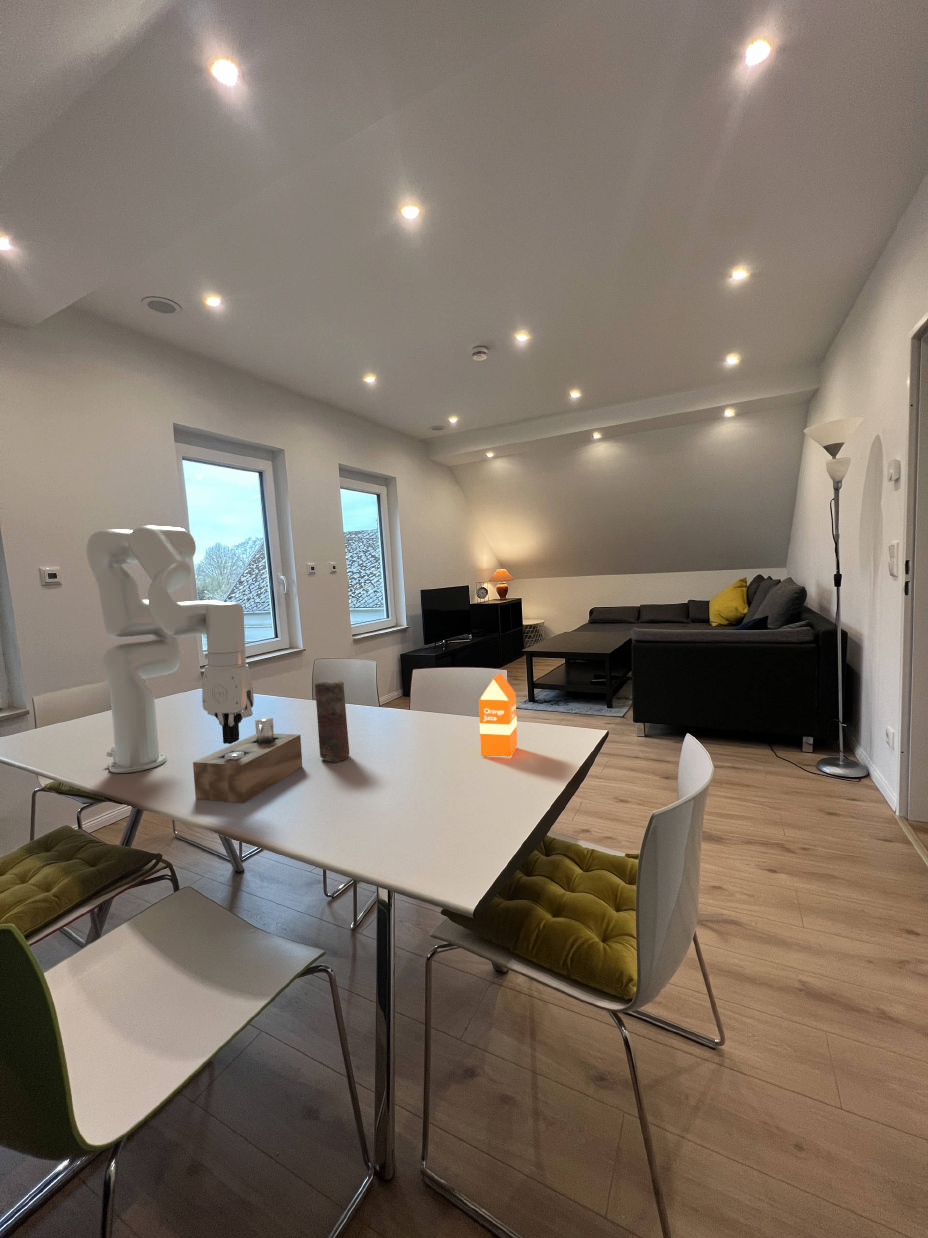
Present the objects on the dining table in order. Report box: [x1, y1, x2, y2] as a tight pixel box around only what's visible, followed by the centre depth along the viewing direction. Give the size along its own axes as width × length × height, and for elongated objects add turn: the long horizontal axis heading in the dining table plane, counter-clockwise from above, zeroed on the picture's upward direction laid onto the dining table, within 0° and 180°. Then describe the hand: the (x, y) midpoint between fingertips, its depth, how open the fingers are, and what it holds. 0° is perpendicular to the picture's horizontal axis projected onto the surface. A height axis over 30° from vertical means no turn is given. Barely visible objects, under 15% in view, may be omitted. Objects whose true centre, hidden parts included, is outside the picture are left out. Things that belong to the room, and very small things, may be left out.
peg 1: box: [224, 752, 244, 759], centre depth 118 cm, size 4×4×7 cm
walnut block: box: [192, 733, 303, 804], centre depth 123 cm, size 12×22×8 cm, turn 165°
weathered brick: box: [314, 680, 350, 763], centre depth 137 cm, size 8×7×20 cm
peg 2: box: [254, 717, 275, 744], centre depth 128 cm, size 4×4×7 cm
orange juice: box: [478, 672, 518, 757], centre depth 137 cm, size 8×9×20 cm
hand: (231, 741), depth 118 cm, fingers closed
